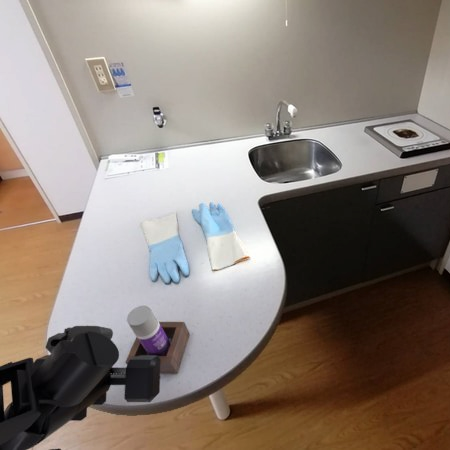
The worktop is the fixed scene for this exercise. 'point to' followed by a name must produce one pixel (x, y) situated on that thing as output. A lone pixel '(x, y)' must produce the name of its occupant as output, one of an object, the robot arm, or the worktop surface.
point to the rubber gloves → (173, 247)
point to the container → (148, 331)
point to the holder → (176, 349)
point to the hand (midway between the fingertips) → (127, 358)
